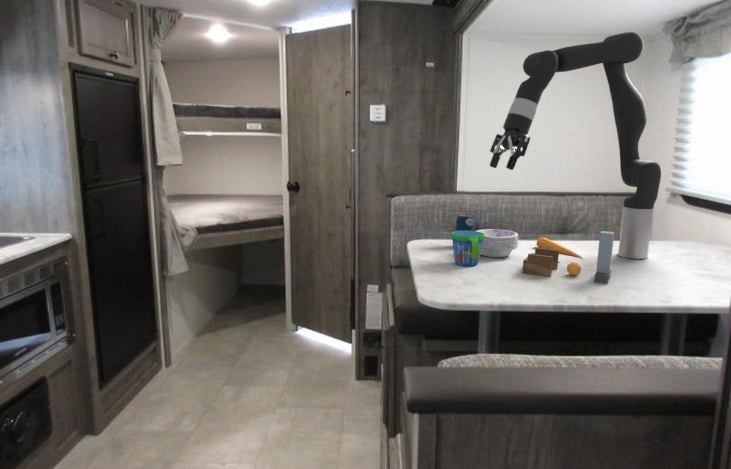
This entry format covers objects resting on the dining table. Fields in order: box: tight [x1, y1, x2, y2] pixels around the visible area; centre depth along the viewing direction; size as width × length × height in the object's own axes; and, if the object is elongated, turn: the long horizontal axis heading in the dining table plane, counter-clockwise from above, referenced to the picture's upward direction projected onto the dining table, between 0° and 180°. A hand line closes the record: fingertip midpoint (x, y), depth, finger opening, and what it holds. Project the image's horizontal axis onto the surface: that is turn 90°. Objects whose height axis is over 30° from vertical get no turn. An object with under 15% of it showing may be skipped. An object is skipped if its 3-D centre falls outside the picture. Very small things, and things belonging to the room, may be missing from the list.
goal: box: [522, 246, 560, 278], centre depth 157 cm, size 11×8×6 cm
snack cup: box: [450, 230, 485, 267], centre depth 164 cm, size 16×10×10 cm
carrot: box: [536, 237, 584, 259], centre depth 183 cm, size 20×4×4 cm, turn 30°
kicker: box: [593, 230, 615, 285], centre depth 148 cm, size 9×3×14 cm, turn 150°
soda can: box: [455, 213, 476, 231], centre depth 189 cm, size 7×7×12 cm
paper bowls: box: [476, 228, 519, 258], centre depth 178 cm, size 15×15×8 cm
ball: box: [566, 261, 582, 276], centre depth 153 cm, size 4×4×4 cm
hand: (500, 168), depth 153 cm, fingers open, 8 cm apart
